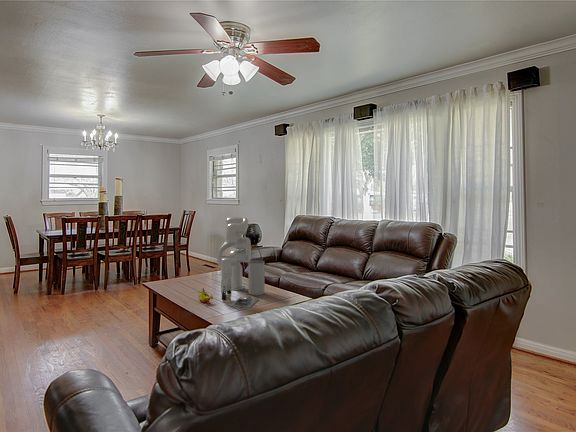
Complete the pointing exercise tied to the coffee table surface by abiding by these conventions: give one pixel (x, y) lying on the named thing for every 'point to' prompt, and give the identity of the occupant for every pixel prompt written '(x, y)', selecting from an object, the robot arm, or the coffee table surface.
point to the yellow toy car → (204, 296)
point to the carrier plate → (244, 302)
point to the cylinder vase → (256, 277)
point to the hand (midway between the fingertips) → (226, 298)
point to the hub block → (227, 298)
